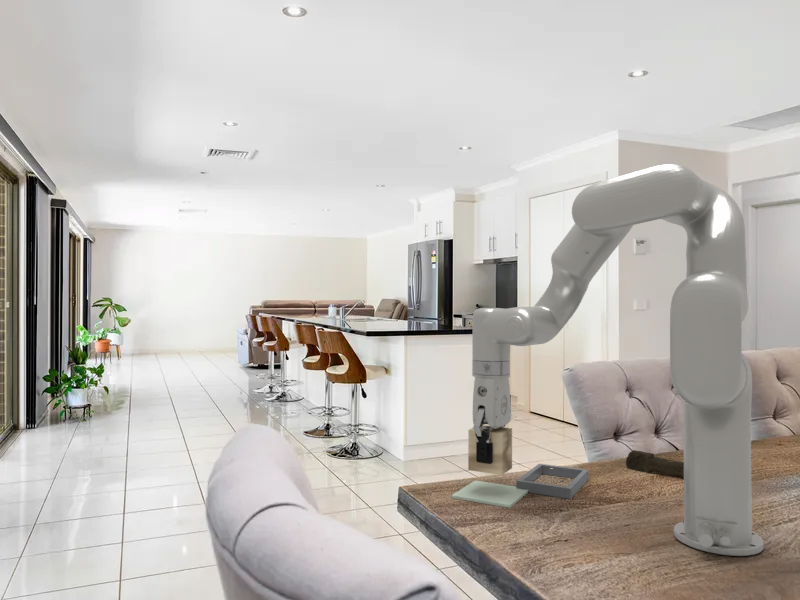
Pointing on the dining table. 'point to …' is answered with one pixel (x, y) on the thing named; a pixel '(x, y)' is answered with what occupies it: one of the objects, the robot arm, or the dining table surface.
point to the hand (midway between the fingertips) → (490, 458)
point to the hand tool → (653, 464)
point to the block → (500, 452)
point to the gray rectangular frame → (549, 489)
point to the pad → (490, 493)
